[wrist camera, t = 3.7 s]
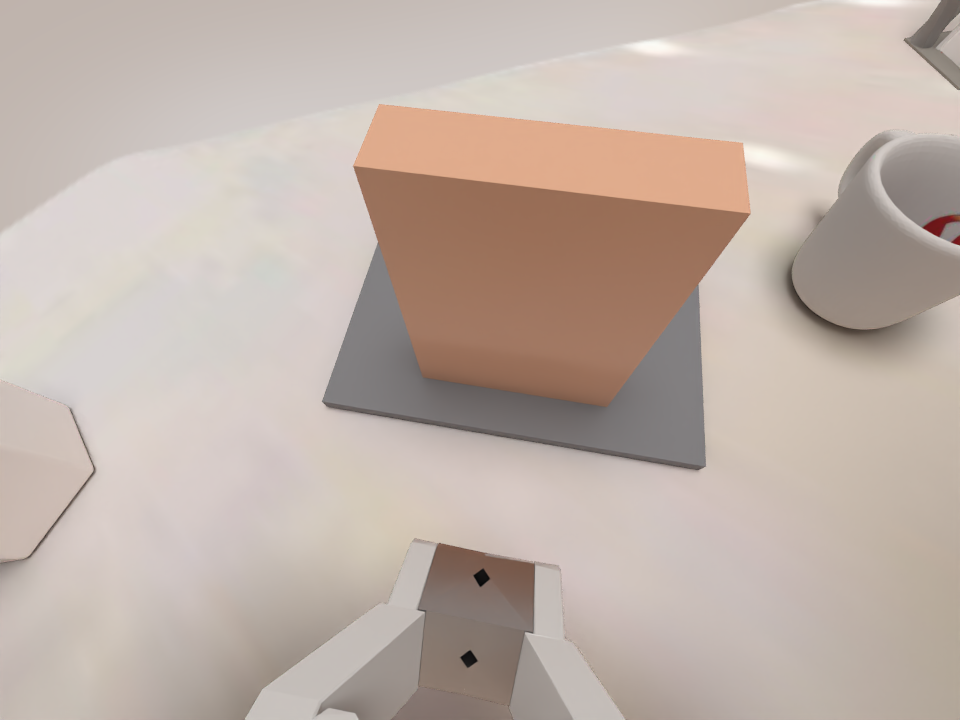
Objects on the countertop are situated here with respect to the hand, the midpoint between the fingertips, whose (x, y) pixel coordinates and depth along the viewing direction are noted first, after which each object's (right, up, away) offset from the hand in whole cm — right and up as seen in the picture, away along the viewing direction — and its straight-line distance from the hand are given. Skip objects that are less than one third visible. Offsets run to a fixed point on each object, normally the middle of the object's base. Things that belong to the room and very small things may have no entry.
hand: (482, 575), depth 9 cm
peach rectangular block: (+2, +4, +15) cm, 16 cm away
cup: (+22, +10, +19) cm, 31 cm away
